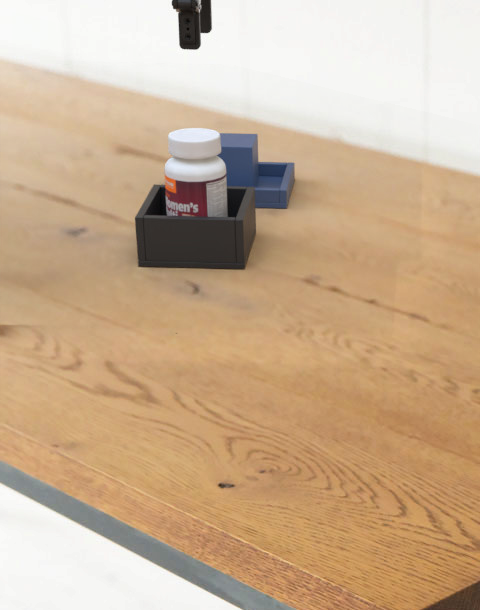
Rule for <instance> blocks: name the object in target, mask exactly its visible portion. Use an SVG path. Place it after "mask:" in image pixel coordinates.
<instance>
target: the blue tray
mask: <svg viewBox="0 0 480 610" xmlns="http://www.w3.org/2000/svg"><path fill="white" fill-rule="evenodd" d="M258 168H259V181H258V184H257V187H256V188H255V209H256V208H257V209H287V208H288V204H289V202H290V198H291V194H292V190H293V187H294V184H295V179H296V178H295V174H296V173H295V170H296V169H295V162H292V161H291V162H288V161H287V162H283V161H281V162H279V161H258Z"/></svg>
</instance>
